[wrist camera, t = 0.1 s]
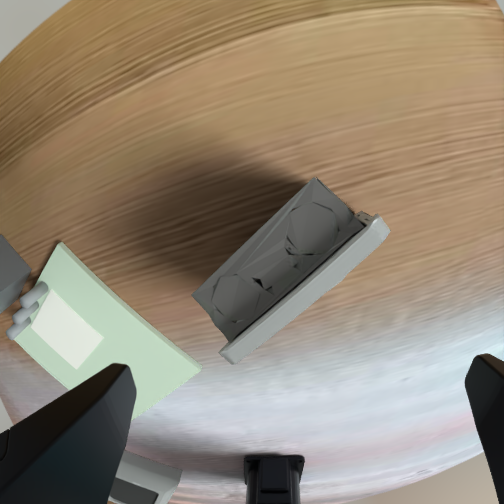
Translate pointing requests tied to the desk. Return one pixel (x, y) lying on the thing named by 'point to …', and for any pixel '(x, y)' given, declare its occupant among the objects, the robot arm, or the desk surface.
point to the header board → (94, 333)
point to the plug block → (11, 274)
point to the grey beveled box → (143, 481)
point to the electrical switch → (287, 267)
